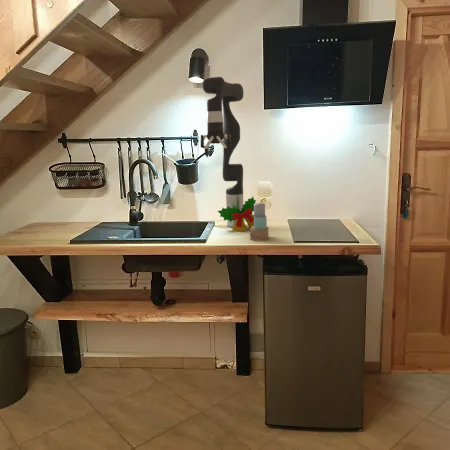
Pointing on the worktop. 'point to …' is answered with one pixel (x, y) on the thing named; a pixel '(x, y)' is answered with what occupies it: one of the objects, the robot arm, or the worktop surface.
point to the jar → (259, 209)
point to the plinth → (258, 234)
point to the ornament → (240, 215)
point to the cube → (260, 222)
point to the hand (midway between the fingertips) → (216, 156)
